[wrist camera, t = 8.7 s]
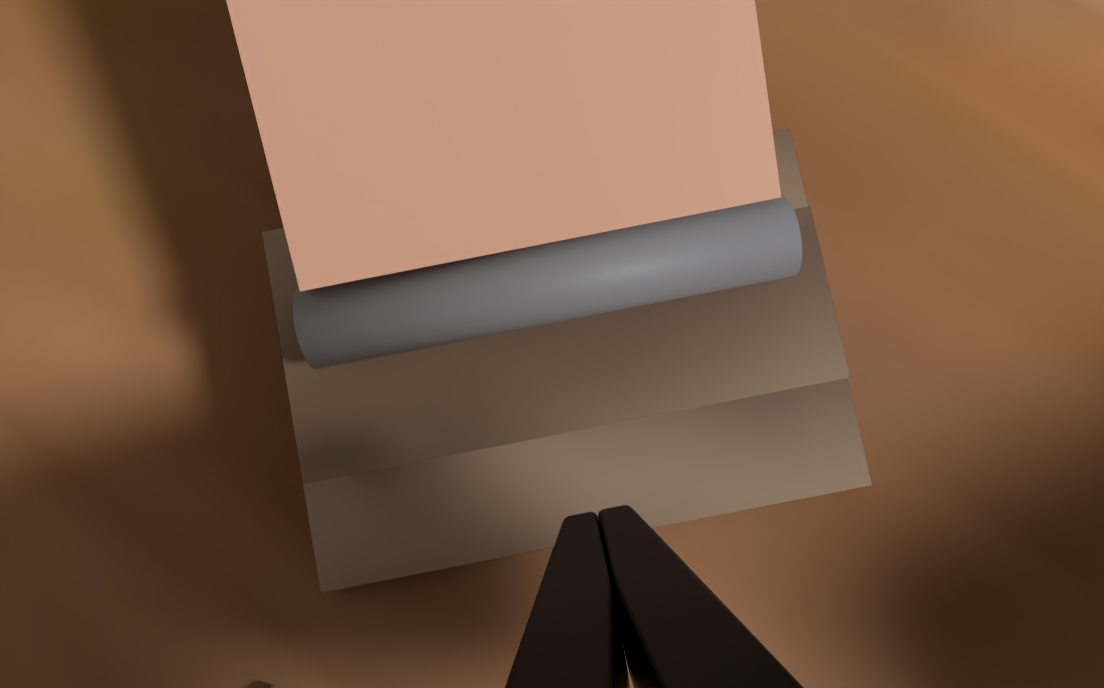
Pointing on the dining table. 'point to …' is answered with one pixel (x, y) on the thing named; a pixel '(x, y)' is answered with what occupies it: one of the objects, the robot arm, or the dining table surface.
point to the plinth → (572, 421)
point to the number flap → (510, 161)
